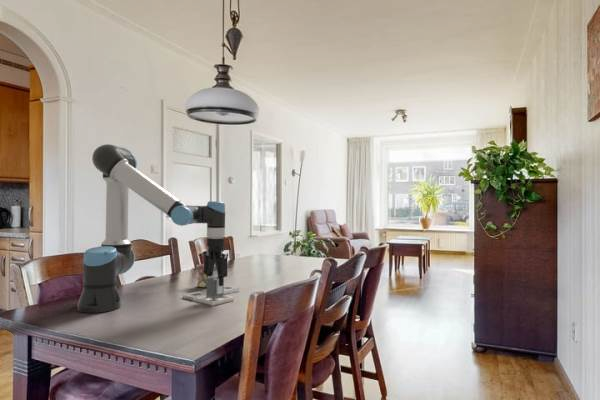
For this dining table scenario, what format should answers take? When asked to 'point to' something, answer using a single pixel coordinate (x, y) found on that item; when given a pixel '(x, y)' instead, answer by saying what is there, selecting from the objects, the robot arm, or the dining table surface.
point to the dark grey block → (213, 288)
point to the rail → (203, 293)
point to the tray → (214, 300)
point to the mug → (201, 276)
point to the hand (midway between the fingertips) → (214, 292)
